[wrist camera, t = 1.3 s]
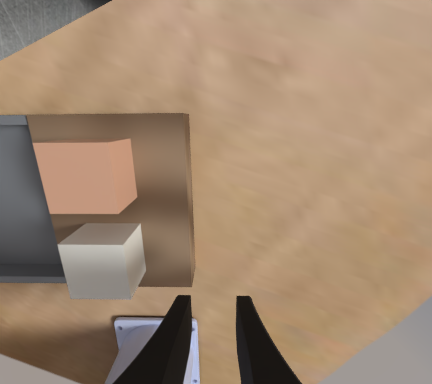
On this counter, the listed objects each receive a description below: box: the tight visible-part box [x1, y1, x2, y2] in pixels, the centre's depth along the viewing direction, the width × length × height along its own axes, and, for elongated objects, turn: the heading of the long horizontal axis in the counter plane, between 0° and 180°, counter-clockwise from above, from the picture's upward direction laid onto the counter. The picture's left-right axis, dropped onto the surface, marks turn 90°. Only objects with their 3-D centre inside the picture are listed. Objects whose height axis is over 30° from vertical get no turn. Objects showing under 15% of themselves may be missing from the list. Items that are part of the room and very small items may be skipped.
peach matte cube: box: [33, 138, 137, 214], centre depth 14 cm, size 4×4×3 cm
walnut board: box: [26, 113, 195, 287], centre depth 17 cm, size 13×10×2 cm
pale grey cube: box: [58, 223, 146, 300], centre depth 16 cm, size 4×4×3 cm
